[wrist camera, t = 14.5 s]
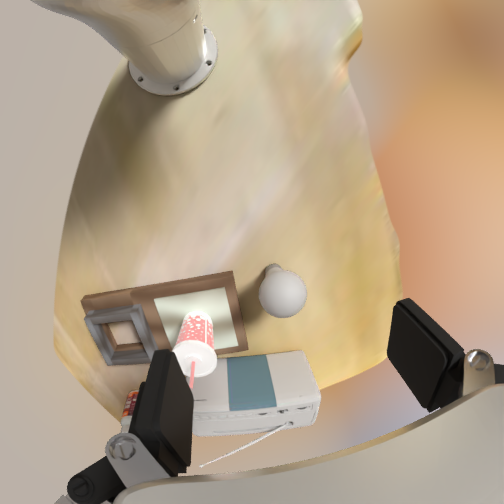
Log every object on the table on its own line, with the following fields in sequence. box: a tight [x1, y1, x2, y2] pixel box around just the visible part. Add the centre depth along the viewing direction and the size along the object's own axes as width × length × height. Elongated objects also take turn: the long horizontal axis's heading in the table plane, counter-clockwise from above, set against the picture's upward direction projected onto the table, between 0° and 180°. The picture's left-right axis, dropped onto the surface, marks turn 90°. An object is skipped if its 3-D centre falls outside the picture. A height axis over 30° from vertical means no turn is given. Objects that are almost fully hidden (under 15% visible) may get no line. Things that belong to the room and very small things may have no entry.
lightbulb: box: [259, 264, 307, 318], centre depth 37 cm, size 6×6×11 cm
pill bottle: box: [121, 390, 139, 433], centre depth 45 cm, size 6×6×11 cm
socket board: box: [81, 271, 248, 365], centre depth 42 cm, size 14×26×4 cm, turn 99°
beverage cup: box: [172, 311, 217, 390], centre depth 35 cm, size 6×6×14 cm
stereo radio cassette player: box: [186, 350, 321, 468], centre depth 40 cm, size 21×8×20 cm, turn 92°
